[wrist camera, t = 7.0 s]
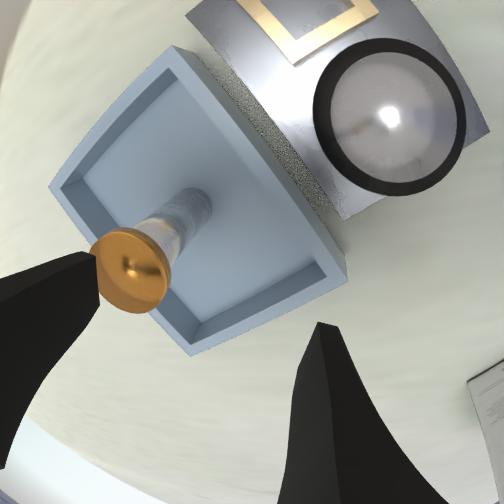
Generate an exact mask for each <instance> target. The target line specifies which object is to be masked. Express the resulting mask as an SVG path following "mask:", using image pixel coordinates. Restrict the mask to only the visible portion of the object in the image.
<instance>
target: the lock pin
mask: <svg viewBox="0 0 504 504" xmlns="http://www.w3.org/2000/svg"><path fill="white" fill-rule="evenodd" d="M211 214H212V203H211V201H210V199H209V197H208V196H207V194H206V193H204V192H203V191H202V190H200V189H197V188H193V187H189V188H185V189H182V190H181V191H180V192H178V193H177V194H176V195H174V196H173V197H172V198H170V199H169V200H168V201H166V202H165V203H164V204H162V205H161V206H160V207H159V208H157V209H156V210H155V211H153V212H152V213H151V214H150V215H148V216H147V217H146V218H145V219H143V220H142V221H141V222H140V223H138V224H137V225H136V226H135V227H133V228H128V227H120V228H115V229H113V230H111V231H109V232H108V233H106V234H105V235H104V236H103V237H101V238H100V239H99V240H97V241H96V242H95V243H94V244H93V246H92V247H91V249H90V252H89V254H92V255H95V256H96V266H97V279H98V291H99V292H100V294H101V295H102V296H103V297H104V298H105V299H106V300H107V301H108V302H110V303H111V304H112V305H114V306H115V307H117V308H119V309H121V310H123V311H126V312H130V313H136V314H141V313H146V312H149V311H151V310H153V309H154V308H155V307H156V306H157V305H158V304H159V303H160V301H161V300H162V298H163V297H164V296H165V294H166V293H167V291H168V289H169V287H170V284H171V268H170V267H171V266H172V265H173V263H174V262H175V261H176V260H177V258H178V257H179V256H180V255H181V253H182V252H183V251H184V250H185V248H186V247H187V246H188V245H189V243H190V242H191V241H192V240H193V238H194V237H195V236H196V235H197V233H198V232H199V231H200V230H201V229H202V227H203V226H204V225H205V224H206V222H207V221H208V220H209V219H210V217H211Z"/></svg>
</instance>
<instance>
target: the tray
mask: <svg viewBox="0 0 504 504" xmlns="http://www.w3.org/2000/svg"><path fill="white" fill-rule="evenodd" d="M189 187H193V188H197V189H200V190H202V191H203V192H204V193H206V194H207V196H208V197H209V199H210V201H211V203H212V214H211V217H210V219H209V220H208V221H207V222H206V224H205V225H204V226H203V227H202V229H201V230H200V231H199V232H198V233H197V235H196V236H195V237H194V238H193V240H192V241H191V242H190V243H189V245H188V246H187V247H186V248H185V250H184V251H183V252H182V253H181V255H180V256H179V257H178V258H177V260H176V261H175V262H174V263H173V265H172V266H171V267H170V268H171V284H170V287H169V289H168V291H167V293H166V294H165V296H164V297H163V298H162V300H161V301H160V303H159V304H158V305H157V306H156V307H155V308H154V309H153V310H151V311H149V312H148V313H149V314H150V315H151V317H152V318H153V319H154V320H155V321H156V322H157V323H158V324H159V325H160V326H161V327H162V328H163V329H164V330H165V332H166V333H167V334H168V335H169V336H170V337H171V338H172V339H173V340H174V341H175V342H176V343H177V344H178V345H179V346H180V347H181V348H182V349H183V350H184V351H185V352H186V353H187V354H188V355H189V356H190V357H191V356H193V355H196V354H198V353H200V352H203V351H205V350H207V349H209V348H212V347H214V346H216V345H219V344H221V343H223V342H225V341H227V340H230V339H232V338H234V337H236V336H238V335H241V334H243V333H245V332H247V331H249V330H251V329H254V328H256V327H258V326H260V325H262V324H264V323H266V322H268V321H270V320H272V319H275V318H277V317H279V316H281V315H283V314H285V313H287V312H289V311H291V310H293V309H295V308H297V307H299V306H301V305H303V304H305V303H307V302H309V301H311V300H313V299H315V298H317V297H319V296H321V295H323V294H325V293H327V292H328V291H330V290H332V289H334V288H336V287H338V286H340V285H342V284H344V283H346V282H348V277H347V270H346V263H345V256H344V254H343V252H342V251H341V249H340V248H339V246H338V245H337V243H336V242H335V240H334V239H333V237H332V236H331V234H330V233H329V231H328V230H327V228H326V227H325V225H324V224H323V222H322V221H321V219H320V218H319V216H318V215H317V213H316V212H315V210H314V209H313V207H312V206H311V204H310V203H309V202H308V200H307V199H306V197H305V196H304V194H303V193H302V192H301V190H300V189H299V187H298V186H297V184H296V183H295V182H294V180H293V179H292V177H291V176H290V175H289V173H288V172H287V170H286V169H285V168H284V166H283V165H282V164H281V162H280V161H279V160H278V158H277V157H276V155H275V154H274V153H273V151H272V150H271V149H270V147H269V146H268V145H267V143H266V142H265V141H264V139H263V138H262V137H261V135H260V134H259V133H258V131H257V130H256V129H255V128H254V126H253V125H252V124H251V122H250V121H249V120H248V118H247V117H246V116H245V115H244V113H243V112H242V111H241V110H240V108H239V107H238V106H237V104H236V103H235V102H234V101H233V99H232V98H231V97H230V96H229V94H228V93H227V92H226V91H225V90H224V88H223V87H222V86H221V85H220V83H219V82H218V81H217V80H216V79H215V77H214V76H213V75H212V74H211V73H210V71H209V70H208V69H207V68H206V67H205V65H204V64H203V63H202V62H201V61H200V59H199V58H198V57H197V56H196V55H195V54H194V53H193V52H190V51H187V50H184V49H181V48H178V47H175V46H172V45H171V46H170V47H169V48H168V49H167V50H166V51H165V52H164V53H162V54H161V55H160V56H159V57H158V58H157V59H156V60H155V61H154V62H153V63H152V64H151V65H150V66H149V67H148V68H147V69H146V70H145V71H144V72H143V73H142V74H141V75H140V76H139V77H138V78H137V79H136V80H135V81H134V82H133V83H132V84H131V85H130V86H129V87H128V88H127V89H126V90H125V91H124V92H123V93H122V94H121V95H120V96H119V97H118V99H117V100H116V101H115V102H114V103H113V104H112V105H111V106H110V107H109V109H108V110H107V111H106V112H105V113H104V114H103V115H102V117H101V118H100V119H99V120H98V121H97V122H96V124H95V125H94V126H93V127H92V128H91V130H90V131H89V132H88V133H87V135H86V136H85V137H84V138H83V140H82V141H81V142H80V143H79V145H78V146H77V147H76V149H75V150H74V151H73V152H72V154H71V155H70V156H69V158H68V159H67V161H66V162H65V163H64V165H63V166H62V167H61V169H60V170H59V172H58V173H57V174H56V176H55V177H54V179H53V180H52V182H51V183H50V185H49V186H48V188H49V189H50V191H51V192H52V194H53V195H54V196H55V198H56V199H57V201H58V202H59V203H60V205H61V206H62V208H63V209H64V210H65V212H66V213H67V215H68V216H69V217H70V219H71V220H72V221H73V223H74V224H75V225H76V227H77V228H78V229H79V231H80V232H81V233H82V235H83V236H84V237H85V238H86V240H87V241H88V242H89V244H90V245H91V246H93V244H94V243H95V242H96V241H97V240H99V239H100V238H101V237H103V236H104V235H105V234H106V233H108V232H109V231H111V230H113V229H115V228H120V227H128V228H133V227H135V226H136V225H137V224H138V223H140V222H141V221H142V220H143V219H145V218H146V217H147V216H148V215H150V214H151V213H152V212H153V211H155V210H156V209H157V208H159V207H160V206H161V205H162V204H164V203H165V202H166V201H168V200H169V199H170V198H172V197H173V196H174V195H176V194H177V193H178V192H180V191H181V190H182V189H185V188H189Z"/></svg>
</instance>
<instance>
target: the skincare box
mask: <svg viewBox="0 0 504 504" xmlns="http://www.w3.org/2000/svg"><path fill="white" fill-rule="evenodd" d="M467 386H468V389H469V391H470V394H471V397H472V400H473V403H474V406H475V409H476V413H477V416H478V419H479V422H480V425H481V429H482V432H483V435H484V439H485V442H486V446H487V450H488V454H489V458H490V462H491V466H492V470H493V474H494V478H495V483H496V487H497V492H498V497H499V502H500V504H504V361H503V362H501V363H499V364H498V365H496V366H494V367H493V368H491V369H490V370H488V371H486V372H485V373H483V374H481V375H480V376H478V377H476V378H475V379H473V380H471V381H470V382H468V384H467Z"/></svg>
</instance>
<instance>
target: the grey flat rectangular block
mask: <svg viewBox="0 0 504 504" xmlns="http://www.w3.org/2000/svg"><path fill="white" fill-rule="evenodd" d="M185 16H186V17H187V18H188V19H189V21H190V22H191V23H192V24H193V25H194V26H195V27H196V28H197V29H198V30H199V31H200V33H201V34H202V35H203V36H204V37H205V38H206V39H207V40H208V42H209V43H210V44H211V45H212V46H213V47H214V48H215V50H216V51H217V52H218V53H219V54H220V55H221V56H222V58H223V59H224V60H225V61H226V62H227V64H228V65H229V66H230V67H231V68H232V69H233V71H234V72H235V73H236V74H237V75H238V77H239V78H240V79H241V80H242V82H243V83H244V84H245V85H246V87H247V88H248V89H249V90H250V91H251V93H252V94H253V95H254V97H255V98H256V99H257V100H258V102H259V103H260V104H261V105H262V107H263V108H264V109H265V111H266V112H267V113H268V114H269V116H270V117H271V118H272V120H273V121H274V122H275V124H276V125H277V126H278V128H279V129H280V130H281V132H282V133H283V134H284V136H285V137H286V138H287V140H288V141H289V143H290V144H291V145H292V147H293V148H294V149H295V151H296V152H297V154H298V155H299V156H300V158H301V159H302V161H303V162H304V163H305V165H306V166H307V168H308V169H309V171H310V172H311V173H312V175H313V176H314V178H315V179H316V181H317V182H318V184H319V185H320V187H321V188H322V190H323V191H324V192H325V194H326V195H327V197H328V198H329V200H330V201H331V203H332V205H333V206H334V208H335V209H336V211H337V212H338V214H339V215H340V217H341V218H342V220H343V221H345V220H347V219H348V218H350V217H352V216H353V215H355V214H357V213H359V212H360V211H362V210H364V209H365V208H367V207H369V206H370V205H372V204H374V203H375V202H377V201H379V200H380V199H382V198H384V197H385V196H407V195H411V194H416V193H419V192H421V191H424V190H426V189H428V188H430V187H432V186H434V185H435V184H436V183H438V182H439V181H441V180H442V179H443V178H444V177H445V176H446V175H447V174H448V173H449V171H450V170H451V169H452V168H453V166H454V165H455V163H456V161H457V160H458V158H459V156H460V153H461V151H462V149H464V148H465V147H467V146H468V145H470V144H472V143H473V142H475V141H476V140H478V139H479V138H481V137H483V136H484V135H486V134H487V133H489V132H490V131H489V128H488V126H487V124H486V122H485V120H484V117H483V115H482V113H481V111H480V109H479V107H478V105H477V103H476V101H475V99H474V97H473V95H472V93H471V91H470V89H469V88H468V86H467V84H466V82H465V80H464V78H463V77H462V75H461V73H460V71H459V70H458V68H457V66H456V65H455V63H454V61H453V60H452V58H451V56H450V55H449V53H448V52H447V50H446V48H445V47H444V45H443V44H442V42H441V41H440V39H439V38H438V36H437V35H436V33H435V32H434V31H433V29H432V28H431V26H430V25H429V23H428V22H427V21H426V19H425V18H424V17H423V15H422V14H421V13H420V11H419V10H418V9H417V7H416V6H415V5H414V4H413V2H412V1H411V0H203V1H202V2H201V3H200V4H198V5H197V6H196V7H194V8H193V9H192V10H191V11H190V12H188V13H187V14H186V15H185Z"/></svg>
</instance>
